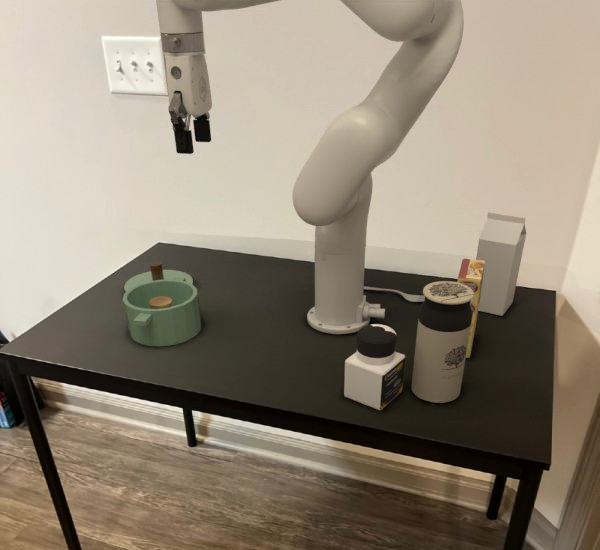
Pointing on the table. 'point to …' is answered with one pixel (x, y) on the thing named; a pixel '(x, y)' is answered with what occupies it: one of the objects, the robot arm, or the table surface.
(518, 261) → the milk carton
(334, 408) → the table surface
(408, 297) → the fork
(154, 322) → the pot
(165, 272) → the pot lid
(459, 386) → the travel mug
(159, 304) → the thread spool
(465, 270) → the candy box
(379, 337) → the medicine bottle
